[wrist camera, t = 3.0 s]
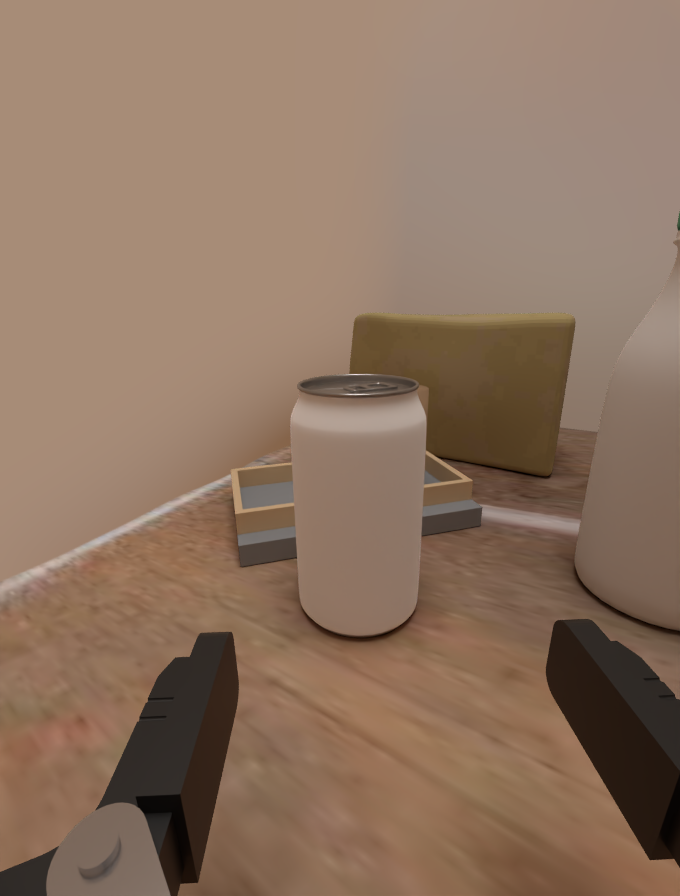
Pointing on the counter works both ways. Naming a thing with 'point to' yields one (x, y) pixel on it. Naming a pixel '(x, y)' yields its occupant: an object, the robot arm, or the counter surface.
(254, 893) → the counter surface
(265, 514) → the socket board
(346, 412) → the can
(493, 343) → the cheese
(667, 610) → the milk bottle
